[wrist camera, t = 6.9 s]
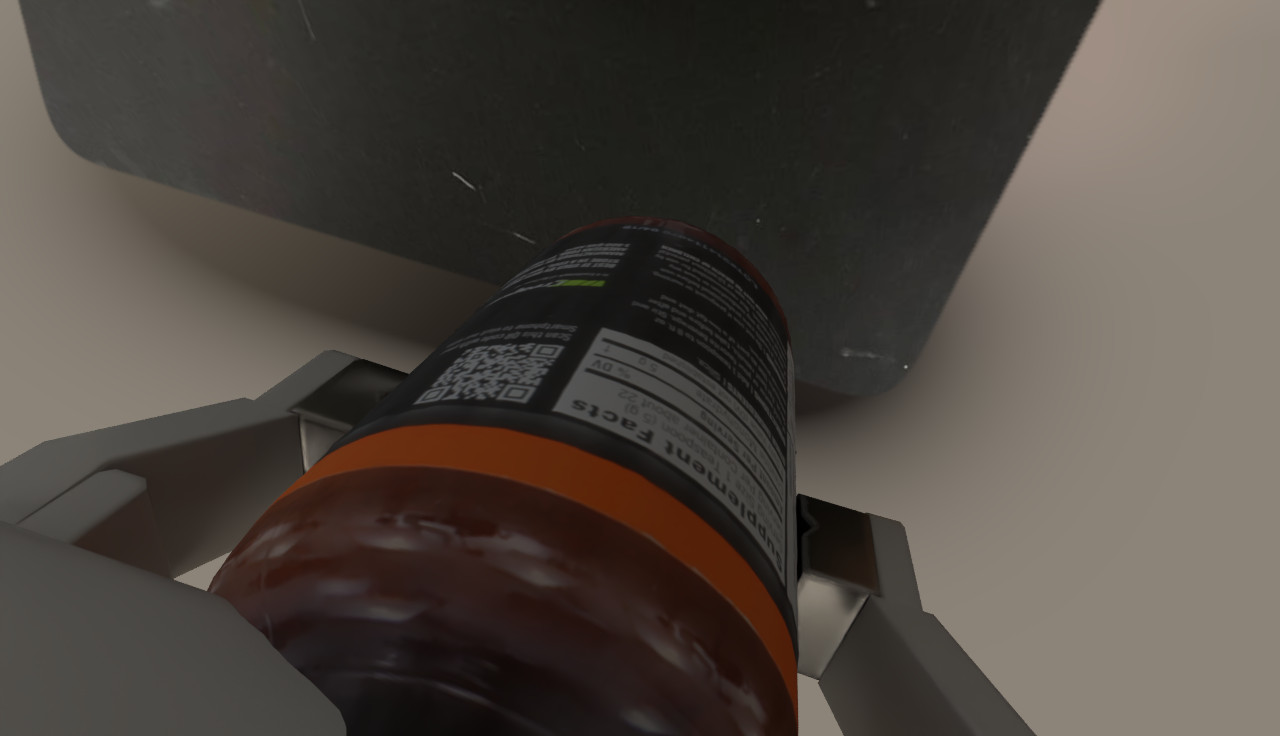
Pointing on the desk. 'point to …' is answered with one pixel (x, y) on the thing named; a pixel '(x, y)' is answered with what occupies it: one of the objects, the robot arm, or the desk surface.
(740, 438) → the supplement bottle
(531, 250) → the desk surface
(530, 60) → the desk surface
